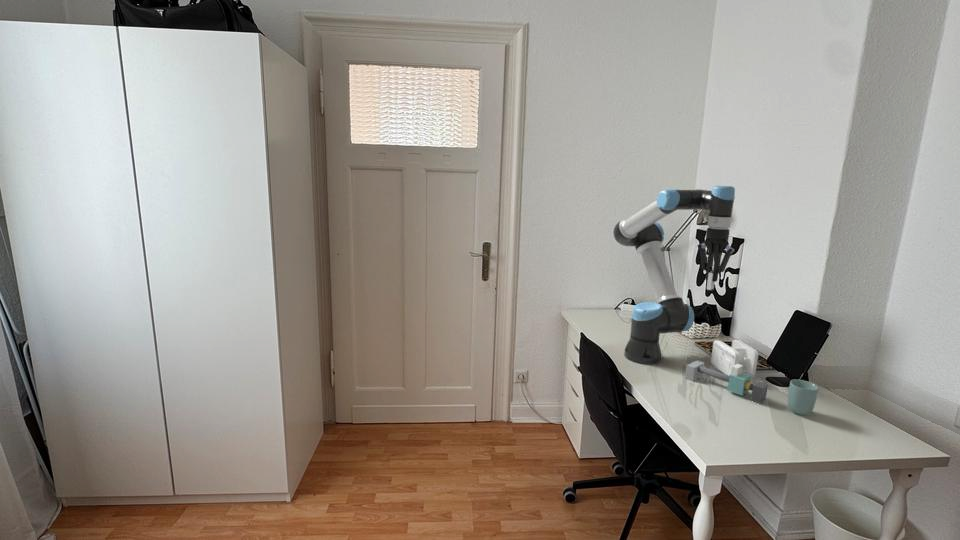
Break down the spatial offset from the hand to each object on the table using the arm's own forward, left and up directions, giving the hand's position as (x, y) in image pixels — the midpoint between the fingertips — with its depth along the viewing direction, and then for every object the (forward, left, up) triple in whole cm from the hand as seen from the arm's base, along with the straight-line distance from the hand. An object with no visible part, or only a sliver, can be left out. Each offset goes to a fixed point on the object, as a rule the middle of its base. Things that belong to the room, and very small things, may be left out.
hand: (710, 289), depth 175 cm
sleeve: (+17, -6, -34) cm, 39 cm away
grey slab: (+1, -6, -34) cm, 35 cm away
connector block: (+24, -6, -34) cm, 42 cm away
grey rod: (+12, -6, -32) cm, 34 cm away
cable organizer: (+8, +11, -35) cm, 37 cm away
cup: (+36, -3, -35) cm, 50 cm away
